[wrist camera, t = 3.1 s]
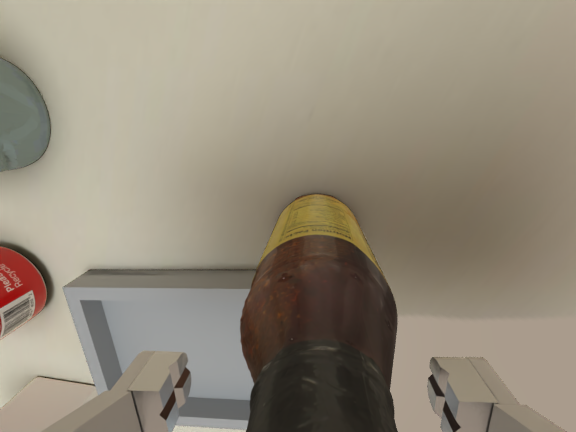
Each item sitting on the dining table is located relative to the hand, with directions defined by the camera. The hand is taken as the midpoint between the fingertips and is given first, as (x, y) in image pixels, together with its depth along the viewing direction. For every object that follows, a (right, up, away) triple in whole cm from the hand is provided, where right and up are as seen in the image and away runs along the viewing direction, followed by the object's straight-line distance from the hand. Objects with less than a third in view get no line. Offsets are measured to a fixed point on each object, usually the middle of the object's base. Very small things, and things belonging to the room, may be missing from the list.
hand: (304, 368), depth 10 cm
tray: (-10, -7, +18) cm, 22 cm away
